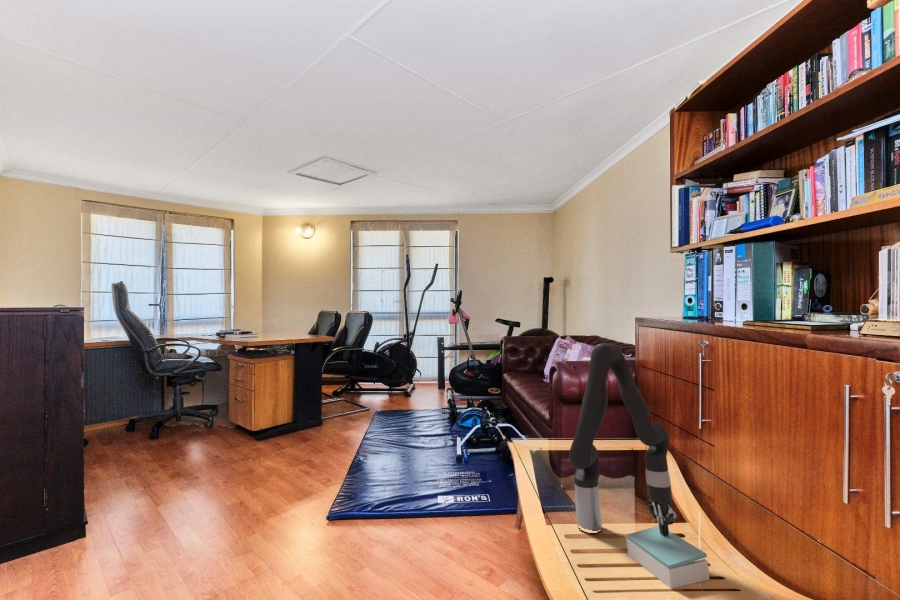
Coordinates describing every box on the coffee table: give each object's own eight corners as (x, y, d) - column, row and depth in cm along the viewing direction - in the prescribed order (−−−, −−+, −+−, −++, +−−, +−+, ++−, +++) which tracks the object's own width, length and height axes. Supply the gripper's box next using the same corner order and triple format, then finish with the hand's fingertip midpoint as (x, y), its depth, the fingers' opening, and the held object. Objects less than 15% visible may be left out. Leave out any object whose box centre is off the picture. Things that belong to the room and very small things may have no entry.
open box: (628, 554, 138) (626, 538, 138) (662, 547, 141) (660, 531, 141) (671, 588, 119) (669, 569, 119) (709, 579, 122) (707, 560, 122)
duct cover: (626, 537, 138) (626, 534, 138) (660, 527, 141) (659, 525, 142) (669, 569, 119) (668, 565, 119) (707, 557, 123) (706, 553, 123)
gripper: (682, 487, 131) (689, 542, 130) (653, 475, 144) (659, 524, 142) (663, 490, 130) (670, 546, 128) (636, 477, 143) (641, 528, 141)
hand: (664, 534), depth 135 cm, fingers closed
